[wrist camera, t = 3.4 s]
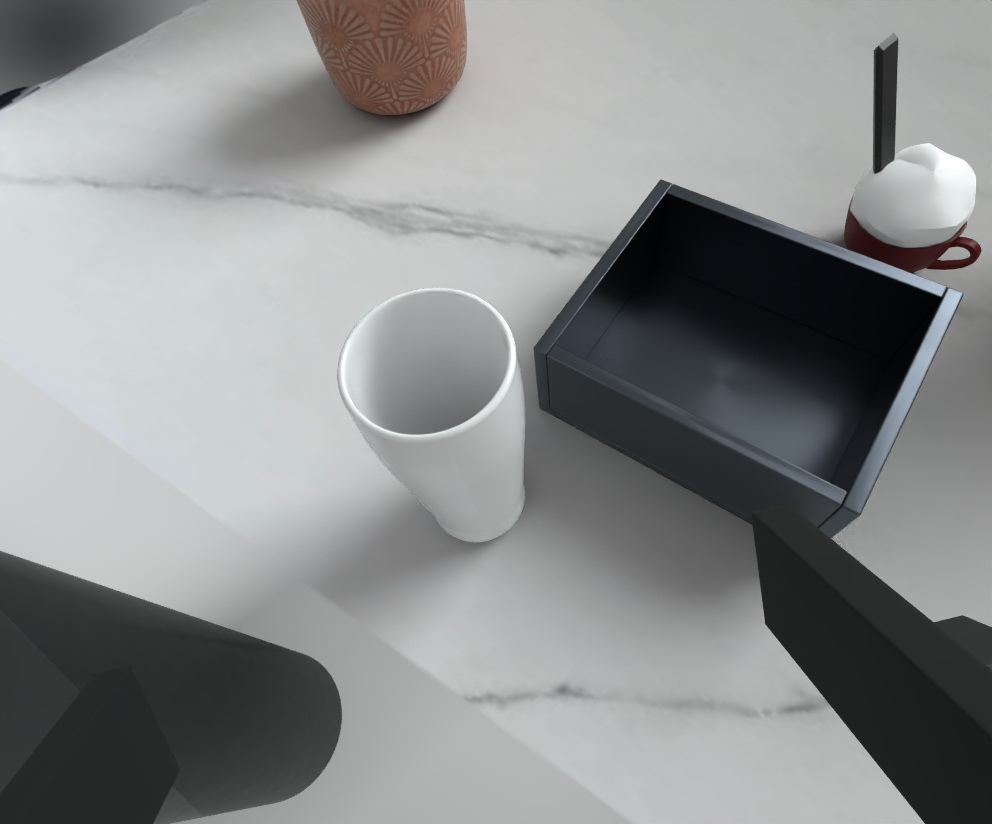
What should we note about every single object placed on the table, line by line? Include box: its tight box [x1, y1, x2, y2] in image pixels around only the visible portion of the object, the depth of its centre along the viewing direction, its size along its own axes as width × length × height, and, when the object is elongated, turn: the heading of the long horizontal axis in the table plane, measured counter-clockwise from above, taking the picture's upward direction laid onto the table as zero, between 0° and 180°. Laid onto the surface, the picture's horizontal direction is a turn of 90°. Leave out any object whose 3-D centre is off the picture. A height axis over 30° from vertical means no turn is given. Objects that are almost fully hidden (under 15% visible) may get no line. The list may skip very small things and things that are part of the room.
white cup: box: [337, 288, 526, 542], centre depth 30 cm, size 7×7×15 cm
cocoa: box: [845, 33, 981, 273], centre depth 36 cm, size 10×6×12 cm, turn 19°
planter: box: [297, 0, 467, 115], centre depth 50 cm, size 12×12×11 cm
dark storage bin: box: [534, 180, 963, 539], centre depth 35 cm, size 17×14×7 cm
